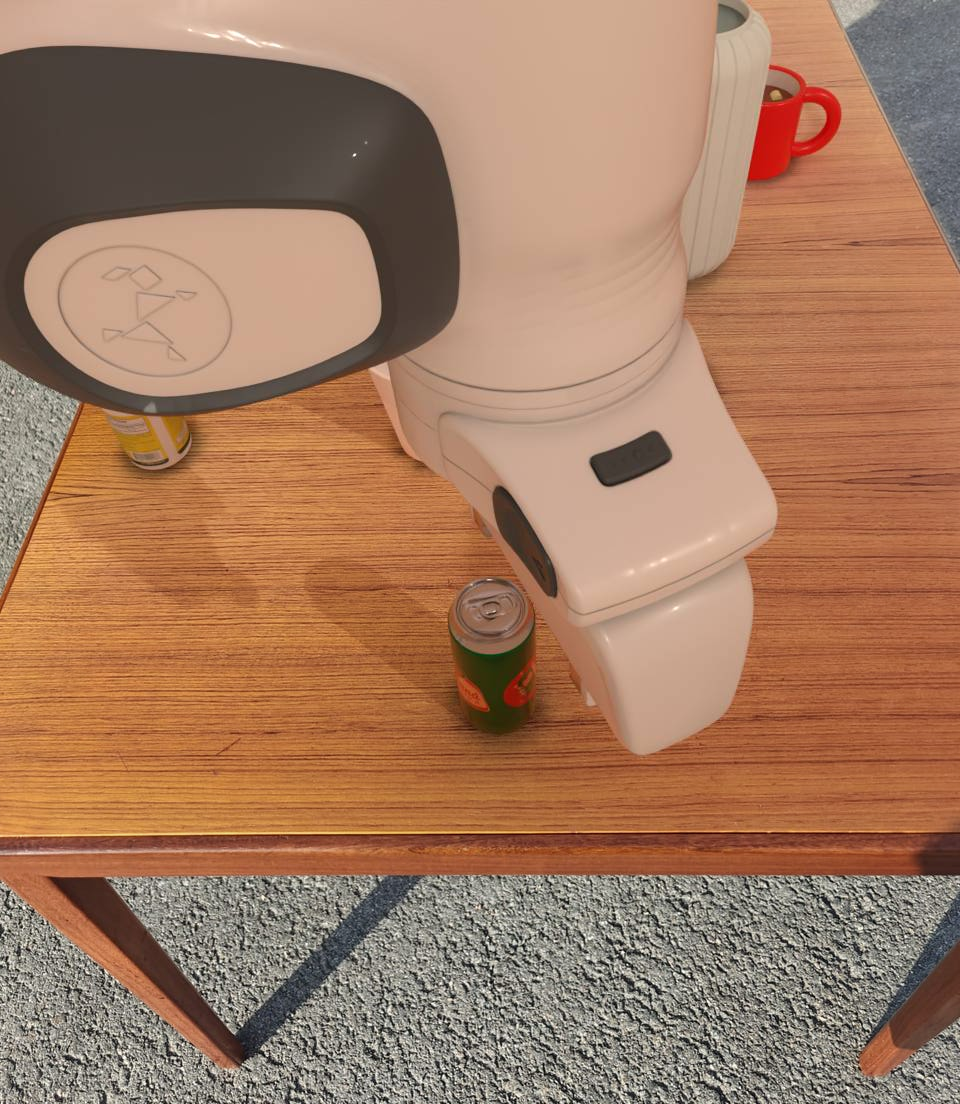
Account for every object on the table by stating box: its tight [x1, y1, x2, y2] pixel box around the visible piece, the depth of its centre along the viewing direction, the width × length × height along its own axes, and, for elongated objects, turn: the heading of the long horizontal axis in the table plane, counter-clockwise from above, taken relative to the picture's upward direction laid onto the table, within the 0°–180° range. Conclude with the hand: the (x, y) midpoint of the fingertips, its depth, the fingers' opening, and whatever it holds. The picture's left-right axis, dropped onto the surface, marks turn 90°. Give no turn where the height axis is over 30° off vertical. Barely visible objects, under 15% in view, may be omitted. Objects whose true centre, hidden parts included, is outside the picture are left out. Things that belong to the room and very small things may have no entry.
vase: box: [680, 0, 773, 282], centre depth 79 cm, size 12×12×22 cm
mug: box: [747, 64, 843, 181], centre depth 94 cm, size 8×12×8 cm, turn 86°
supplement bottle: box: [100, 408, 193, 471], centre depth 74 cm, size 5×5×10 cm
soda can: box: [446, 576, 537, 736], centre depth 57 cm, size 5×5×12 cm
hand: (542, 598), depth 40 cm, fingers open, 8 cm apart
